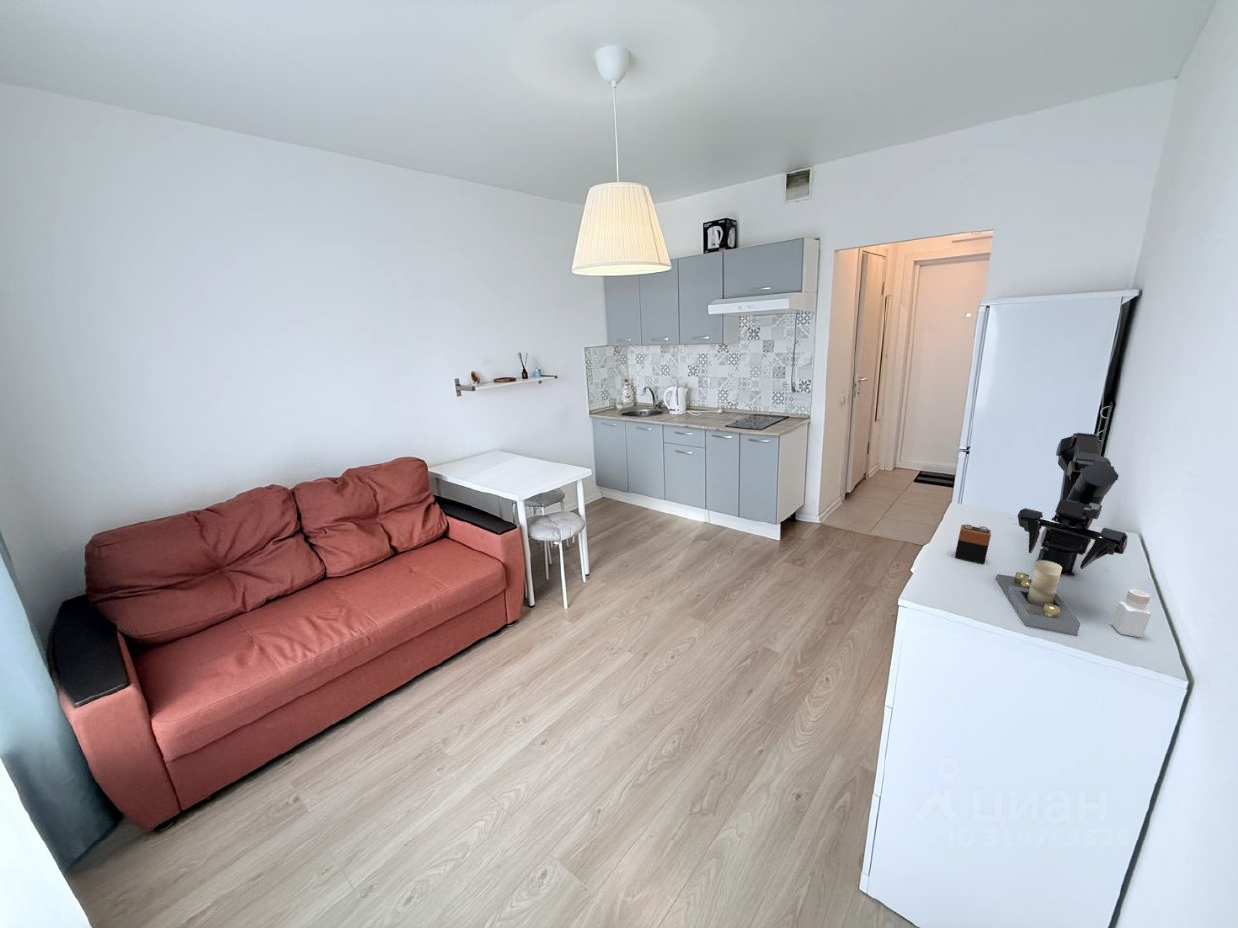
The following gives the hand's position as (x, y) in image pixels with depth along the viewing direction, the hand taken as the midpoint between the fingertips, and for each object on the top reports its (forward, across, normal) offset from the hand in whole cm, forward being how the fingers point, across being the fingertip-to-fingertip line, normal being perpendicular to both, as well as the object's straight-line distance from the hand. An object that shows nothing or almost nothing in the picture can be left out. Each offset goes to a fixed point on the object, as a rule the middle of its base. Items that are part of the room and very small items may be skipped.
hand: (1054, 559), depth 110 cm
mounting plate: (+9, -1, +8) cm, 12 cm away
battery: (-1, -20, +19) cm, 27 cm away
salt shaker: (+7, +14, +11) cm, 19 cm away
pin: (+11, 0, +6) cm, 13 cm away
